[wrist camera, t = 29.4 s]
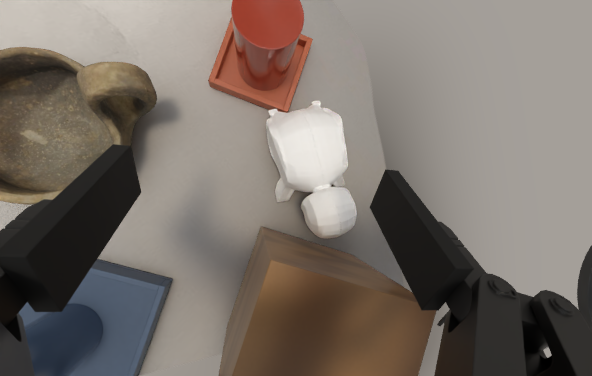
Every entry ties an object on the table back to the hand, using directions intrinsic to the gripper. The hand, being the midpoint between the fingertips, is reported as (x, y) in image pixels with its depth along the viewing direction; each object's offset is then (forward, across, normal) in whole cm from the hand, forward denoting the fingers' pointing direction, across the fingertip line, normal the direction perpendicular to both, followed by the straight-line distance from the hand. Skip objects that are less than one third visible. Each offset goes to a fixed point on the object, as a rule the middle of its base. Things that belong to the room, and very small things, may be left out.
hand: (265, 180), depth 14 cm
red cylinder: (+21, 0, +2) cm, 21 cm away
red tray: (+22, -1, +2) cm, 22 cm away
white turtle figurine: (+15, +5, -8) cm, 18 cm away
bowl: (+16, -18, -7) cm, 25 cm away
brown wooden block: (+6, +5, -20) cm, 21 cm away
